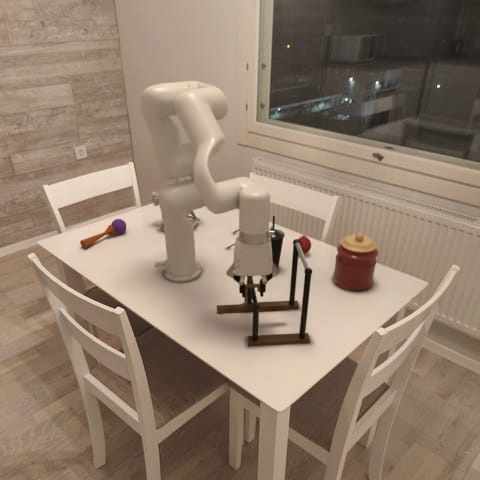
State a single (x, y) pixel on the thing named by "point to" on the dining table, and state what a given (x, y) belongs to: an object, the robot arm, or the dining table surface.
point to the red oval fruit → (305, 244)
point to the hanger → (248, 307)
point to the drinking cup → (276, 244)
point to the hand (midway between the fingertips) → (252, 293)
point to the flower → (194, 220)
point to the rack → (292, 304)
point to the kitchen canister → (355, 262)
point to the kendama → (106, 232)
